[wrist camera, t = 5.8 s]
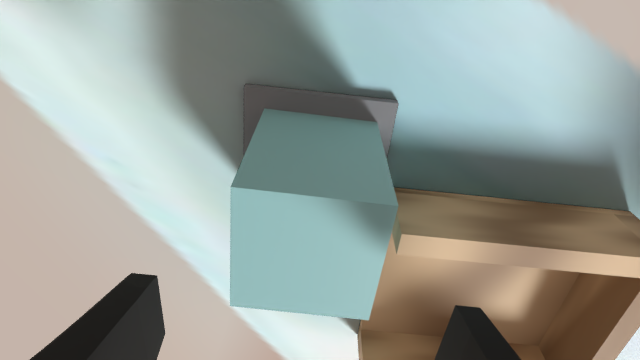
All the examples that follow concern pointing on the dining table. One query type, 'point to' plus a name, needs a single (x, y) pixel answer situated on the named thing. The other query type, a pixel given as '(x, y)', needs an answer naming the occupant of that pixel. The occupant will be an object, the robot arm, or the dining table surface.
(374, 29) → the dining table surface
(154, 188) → the dining table surface
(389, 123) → the coaster
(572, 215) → the crate
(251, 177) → the block
